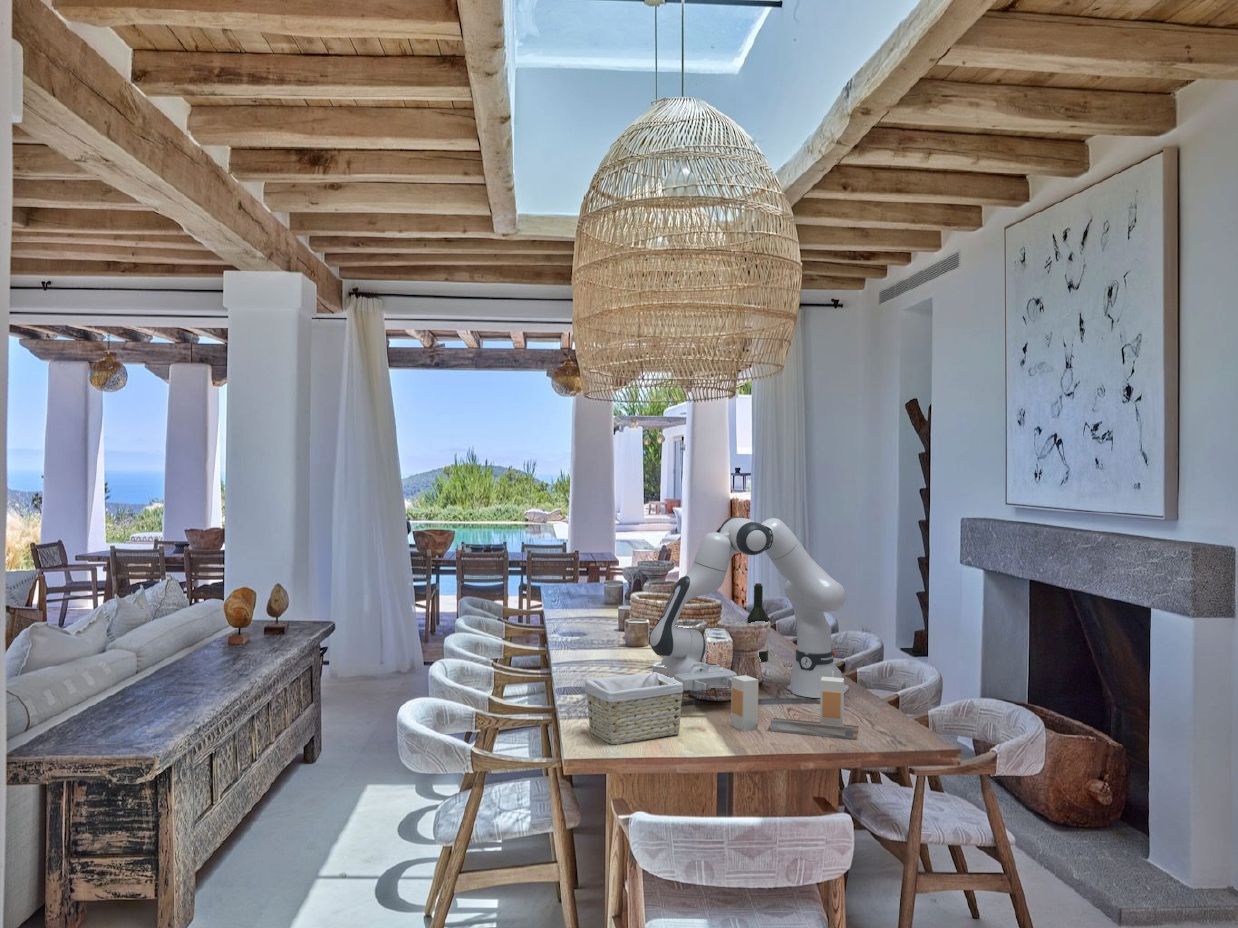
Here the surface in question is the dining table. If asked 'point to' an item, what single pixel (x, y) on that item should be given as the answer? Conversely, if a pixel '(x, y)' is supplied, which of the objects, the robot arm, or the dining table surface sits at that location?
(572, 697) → the dining table surface
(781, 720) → the shelf board
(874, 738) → the dining table surface
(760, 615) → the wine bottle
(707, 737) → the dining table surface
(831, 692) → the carton
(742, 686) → the cream carton
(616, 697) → the storage basket
